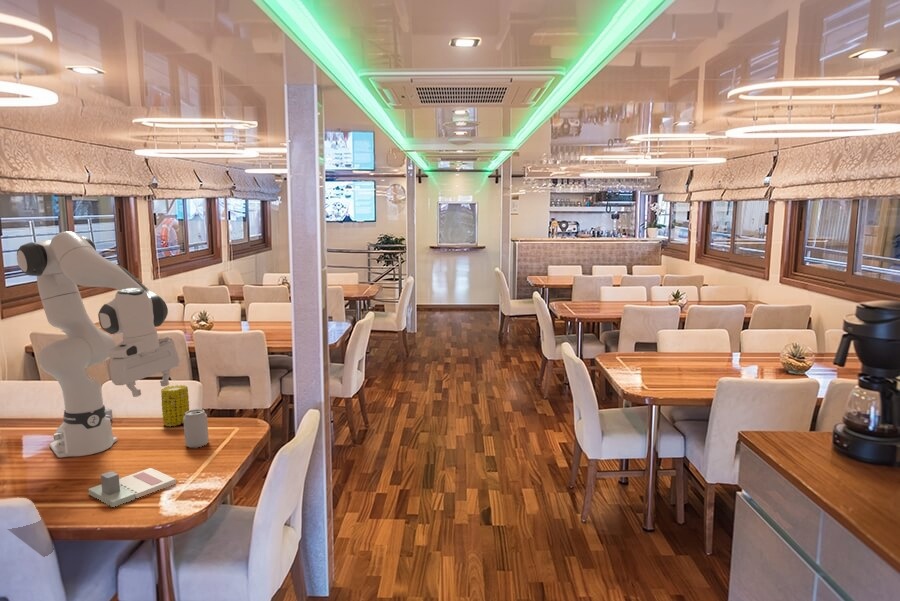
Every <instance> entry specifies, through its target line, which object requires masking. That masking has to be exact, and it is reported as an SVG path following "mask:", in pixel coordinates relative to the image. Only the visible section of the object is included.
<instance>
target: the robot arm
mask: <svg viewBox="0 0 900 601" xmlns="http://www.w3.org/2000/svg"><path fill="white" fill-rule="evenodd" d="M16 260H17V264H18V267H19V269H20V270H21V272H22V273H24V274H25V275H26V276H30V277H36V283H37V290H38V294H39V297H40V300H41V305H42V307H43V310H44V313H45V316H46V319H47V322H48V324H49V325H51V327H52V326H53V327H55V328H57V329H60V330H61V331H62V332H64V334H65V335H66V336H67V338H64V339H59V340H55V341H53V342H51V343H49V344H47V345H45V346H43V347H42V348H41V349H40V350H39V352H38V355H37V361H38V362H37V363H38V365H39V367H40V369H42V371H43V372H44V373H46V374H48V375H50V376H51V377H53V378H54V379H55V380H56V381H57V383H58V384H59V386H60V388H61V391H62V396H63V402H64V410H63V411H64V412H63V422H62V423H61V424H60V426H58V427H57V429H56V433H54V434H52V435H53V440H54V441H52V442H50V443H49V447H50V449H51V450H52V452H53V453H54V454H55V456H56V457H57V458H67V457H84V456H89V455H93V454H98V453H101V452H104V451H105V450H106V451H107V450H109V448H111V447H112V446H113V444H114V443H116V442H117V441H118V437H117V436H114V434H113V429H112V423H111V420H110V419H108V418H106V417H105V416H106V409H105V407H106V406H105V404H104V399H103V389H102V385H101V383H100V382H99V380H96V379H94V378H91V376H89V374H88V371H87V368H89V367H92V366H95V365H99V364H103V363H104V362H106V361H107V360H109V359H110V361H109V365H108V366H109V375H110V379H111V382H112V384H114V385H115V386H125V385H126V387H127V388H128V389H129V391H131V393H132V397H133V398H137V397H140V396H142V391H141V389H140V388H139V389H138V388H137V387H136V385H137V384H136V382H137V381H139V380H140V381H141V380H143V379H145V378H148V377H151V376H154V375H156V374H160V373H161V374H162V379H161V380H159V383H160V386H161V387H167V386H170V382H169V379H170V375H171V369H175V368H177V367H179V364H180V362H181V361H180V357H179V355H178V352H177V349H176V346H175V341H174V340H173V339H172V338H169V337H168V336H167V337H164V338H160V339H159V336H158V331H157V328H159V327H161V325H162V324H163V323H164V322H165V320H166V319H167V316H168V314H169V310H168V306H167V303H166V302H165V300H164V299H163V298H162V297H161V296H159V295H158V294H156V293H155V292H153V291H151V290H150V289H149V288H148V287H146V286H145V284H143V283H142V282H141V281H140V280H139V279H138V278H137V277H135V276H134V275H133V274H132V273H131V272H130V271H128V270H127V269H126V268H125V267H123V266H122V265H120V264H117V263H115V262H112V261H111V260H109V259H106V257H104V256H102V255H101V254H99V252H98V251H97V249H96V246H95V243H94V242H93V241H92V239H90V238H89V237H87V236H82V235H80V234H79V233H77V232H74V231H61V232H59V233H57V234H56V235H54V236H53V237H52V238H51V239H45V240H40V241H35V242H33V241H32V242H28V243H25V244H22V245H20V246H19V247H18V249H17V251H16ZM79 286H80V287H90V288H93V287H95V288H97V287H98V288H111V289H114V290H115V289H116V290H117V291H116V293H115V297H114V298H113V299H112V300H110V301H108V302H107V303H104V304H103V305H102V306H101V307H100V309H99V311H98V314H97V315H98V322H99V325H100V328H101V329H100V328H99V327H98V326H97V325H96V324H95V323H94V321H92V319H91V318H90V316H89V314H88V312H87V310H86V307H85V304H84V302H83V299H82V295H81V292H80V290H79ZM120 334H122V341H121V342H119V343H118V344H116V341H115V339H114V338H113V337H112V336H111V335H120Z"/></svg>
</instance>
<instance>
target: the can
mask: <svg viewBox="0 0 900 601" xmlns="http://www.w3.org/2000/svg"><path fill="white" fill-rule="evenodd" d="M183 421H184V423H183V430H184V433H183V434H184V441H185V442H184V443H185V446H186V447H188V448H190V449H198V447H200V448H203V447H205V446H207V444H208V443H209V429H208V428H209V427H208V426H209V425H208V414H207V413H206V412H205V410H204V409H201V408H198V409H197V408H196V409H191V410H190V409H189V411H187V412H186V413H185V416H184V417H183ZM204 445H205V446H204ZM202 446H203V447H202Z"/></svg>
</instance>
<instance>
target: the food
mask: <svg viewBox="0 0 900 601" xmlns="http://www.w3.org/2000/svg"><path fill="white" fill-rule="evenodd" d="M160 392H161V393H160V395H161V410H162V411H161V412H162V421H163V422H162V423H163V425H164V426H166V427H170V428H172V427H176V426H180V425H181V424H184V421H183V417H184V416H185V413H186V412H187V411H190V400H189V388H188V386H187V385H185V384H183V385H181V384H180V385H178V384H176V385H171V386H170V385H167V386H163V388H161V391H160ZM171 426H172V427H171Z"/></svg>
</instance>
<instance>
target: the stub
mask: <svg viewBox="0 0 900 601" xmlns="http://www.w3.org/2000/svg"><path fill="white" fill-rule="evenodd" d="M119 475H120V474H118V472H117V473H116V472H115V471H112V470H111V471H107V472H104V473H101V474H100V483H101V484H99V485H96V486H93V487H90V488H88V495H89V494H90V495H89V496H90V497H93V498H95V499H96V498H97V499H96V500H98V499H99V500H98V501H100V500H101V501H100V502H102V503H103V502H104V504H105V503H106V504H105V505H107V504H108V505H107V506H109V505H110V506H109V507H111V508H112V507H114V508H116V507H119V506H121V505H124V504H126V502H127V503H129V502H132V501H134V500H136V499H135V494H134V493H132V492H130V491H128V490H126V489H124V488H122V487H120V484H119V479H120V476H119ZM131 500H132V501H131ZM123 503H124V504H123ZM120 504H121V505H120ZM118 505H119V506H118ZM115 506H116V507H115Z"/></svg>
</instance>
